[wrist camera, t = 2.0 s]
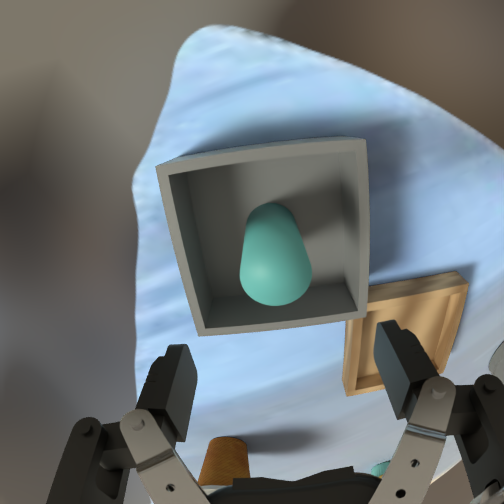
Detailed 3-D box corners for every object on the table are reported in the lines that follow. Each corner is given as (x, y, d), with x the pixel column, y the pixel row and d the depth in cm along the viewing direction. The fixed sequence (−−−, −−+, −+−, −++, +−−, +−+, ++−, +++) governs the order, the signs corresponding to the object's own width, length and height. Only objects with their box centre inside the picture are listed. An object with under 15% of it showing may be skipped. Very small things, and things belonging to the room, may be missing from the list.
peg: (293, 200, 26) (309, 237, 17) (298, 247, 27) (313, 301, 19) (242, 206, 26) (234, 246, 18) (249, 252, 28) (245, 309, 19)
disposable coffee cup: (192, 431, 41) (181, 494, 30) (251, 430, 41) (249, 496, 30) (208, 457, 45) (201, 512, 34) (260, 455, 44) (259, 513, 33)
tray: (455, 270, 29) (469, 283, 26) (434, 358, 34) (443, 372, 32) (346, 289, 30) (354, 305, 27) (342, 379, 36) (346, 396, 33)
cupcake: (379, 457, 46) (391, 504, 35) (407, 456, 47) (420, 499, 36) (356, 475, 50) (364, 518, 39) (384, 473, 51) (393, 514, 40)
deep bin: (342, 135, 24) (365, 139, 19) (349, 283, 30) (366, 317, 24) (177, 157, 25) (155, 166, 20) (208, 299, 31) (198, 336, 25)
